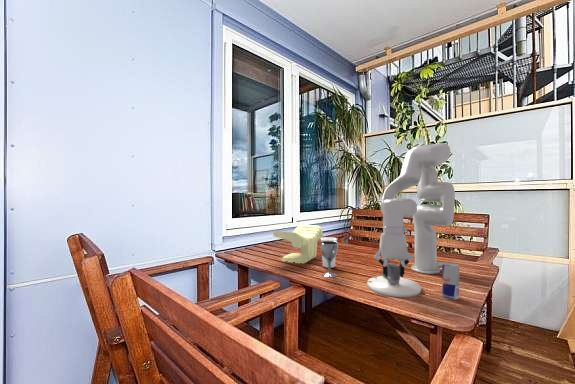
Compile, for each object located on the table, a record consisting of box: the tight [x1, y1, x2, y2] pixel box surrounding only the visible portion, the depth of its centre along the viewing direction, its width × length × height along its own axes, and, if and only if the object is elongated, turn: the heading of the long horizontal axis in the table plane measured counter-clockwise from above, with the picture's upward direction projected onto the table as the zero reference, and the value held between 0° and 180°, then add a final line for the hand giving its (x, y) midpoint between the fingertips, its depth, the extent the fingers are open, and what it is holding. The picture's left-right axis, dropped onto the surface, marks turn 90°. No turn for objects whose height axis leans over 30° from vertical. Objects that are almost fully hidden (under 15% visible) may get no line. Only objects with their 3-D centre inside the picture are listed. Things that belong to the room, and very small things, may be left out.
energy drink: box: [441, 262, 460, 301], centre depth 101 cm, size 5×5×12 cm
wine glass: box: [320, 241, 339, 278], centre depth 128 cm, size 8×8×15 cm
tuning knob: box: [381, 262, 401, 284], centre depth 115 cm, size 12×4×7 cm, turn 4°
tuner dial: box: [366, 275, 422, 298], centre depth 111 cm, size 20×20×2 cm
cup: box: [320, 236, 338, 268], centre depth 142 cm, size 8×8×14 cm
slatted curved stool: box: [272, 224, 324, 264], centre depth 156 cm, size 30×16×18 cm, turn 151°
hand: (393, 275), depth 111 cm, fingers open, 5 cm apart
